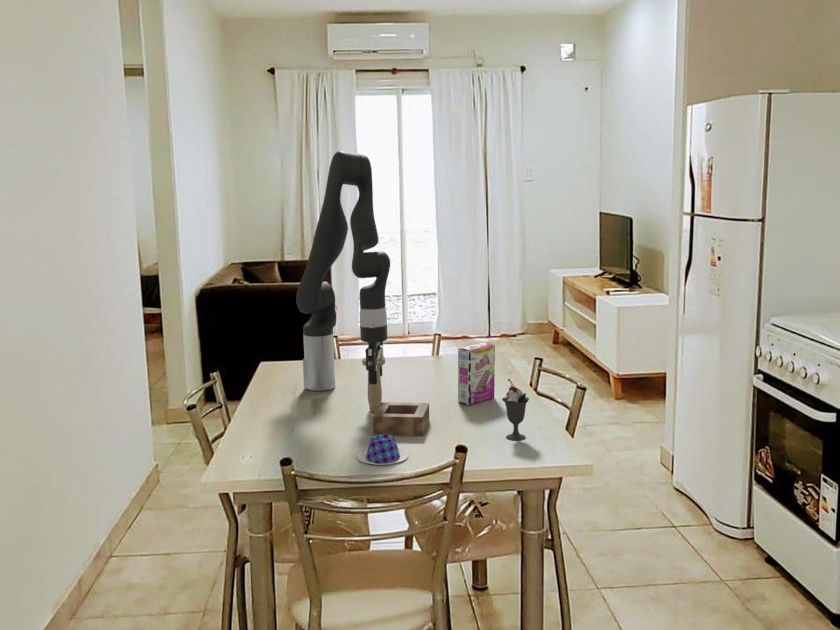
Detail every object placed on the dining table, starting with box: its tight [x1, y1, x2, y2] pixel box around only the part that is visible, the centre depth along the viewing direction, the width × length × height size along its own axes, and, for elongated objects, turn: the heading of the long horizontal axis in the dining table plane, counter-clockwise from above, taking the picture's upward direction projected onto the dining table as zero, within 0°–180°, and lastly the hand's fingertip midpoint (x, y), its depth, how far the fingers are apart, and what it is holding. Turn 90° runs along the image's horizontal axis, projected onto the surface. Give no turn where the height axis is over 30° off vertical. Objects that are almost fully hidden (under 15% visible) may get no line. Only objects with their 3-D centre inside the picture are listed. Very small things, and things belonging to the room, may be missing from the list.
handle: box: [361, 357, 386, 413], centre depth 238 cm, size 5×6×15 cm
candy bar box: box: [457, 342, 496, 406], centre depth 245 cm, size 11×5×16 cm, turn 134°
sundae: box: [501, 378, 530, 442], centre depth 212 cm, size 7×7×15 cm
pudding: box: [357, 434, 409, 466], centre depth 200 cm, size 12×12×5 cm
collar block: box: [372, 401, 430, 437], centre depth 222 cm, size 13×13×5 cm
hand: (375, 380), depth 237 cm, fingers open, 8 cm apart
